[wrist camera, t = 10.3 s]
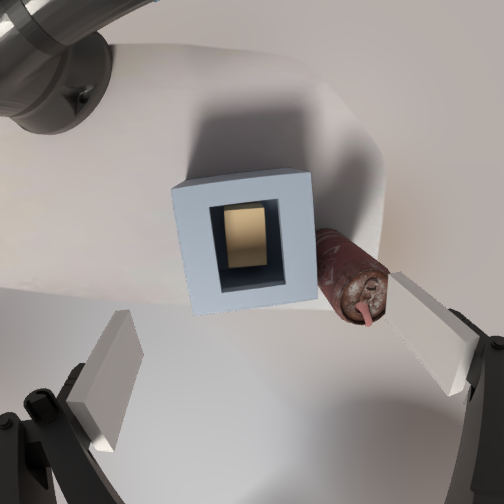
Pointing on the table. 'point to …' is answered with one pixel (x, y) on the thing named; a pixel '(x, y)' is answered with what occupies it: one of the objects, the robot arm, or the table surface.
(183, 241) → the coin box
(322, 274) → the can
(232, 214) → the wooden block
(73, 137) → the table surface
